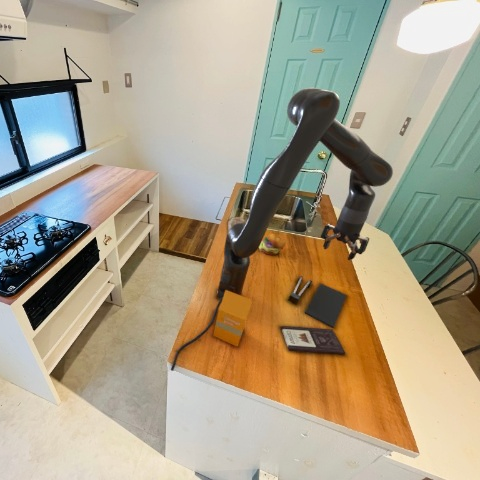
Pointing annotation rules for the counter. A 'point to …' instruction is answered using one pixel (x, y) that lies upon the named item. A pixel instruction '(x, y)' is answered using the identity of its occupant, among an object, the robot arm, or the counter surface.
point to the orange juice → (232, 317)
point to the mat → (326, 305)
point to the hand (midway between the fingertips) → (337, 253)
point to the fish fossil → (235, 221)
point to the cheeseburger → (272, 244)
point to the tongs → (294, 297)
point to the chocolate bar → (312, 340)
